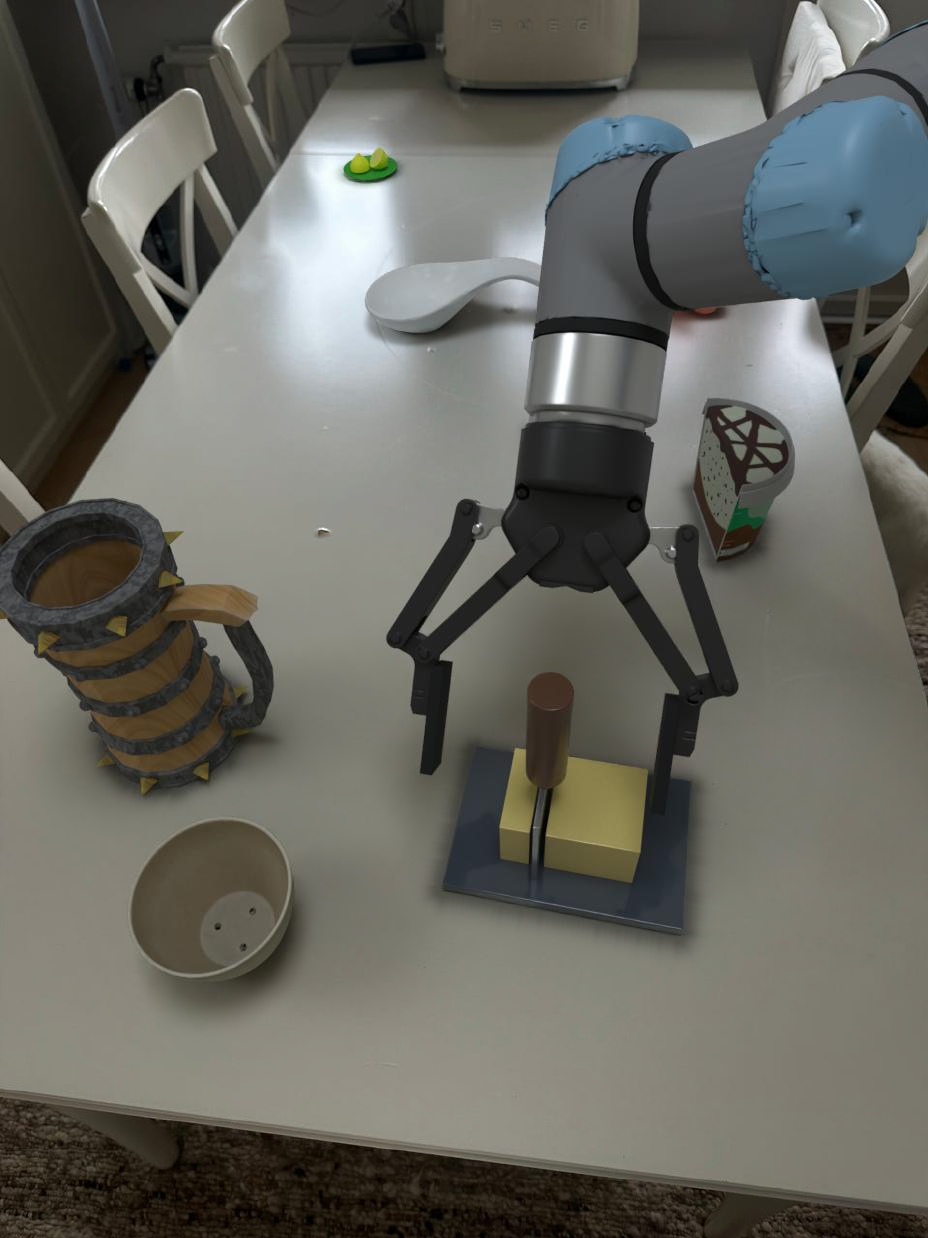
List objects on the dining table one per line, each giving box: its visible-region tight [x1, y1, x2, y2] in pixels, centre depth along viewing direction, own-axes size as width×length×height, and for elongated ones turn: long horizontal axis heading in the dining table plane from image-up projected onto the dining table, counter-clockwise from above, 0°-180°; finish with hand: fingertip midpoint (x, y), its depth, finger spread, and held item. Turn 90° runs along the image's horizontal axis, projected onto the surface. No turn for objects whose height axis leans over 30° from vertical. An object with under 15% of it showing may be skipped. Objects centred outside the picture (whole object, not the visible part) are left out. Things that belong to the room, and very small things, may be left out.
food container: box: [691, 397, 796, 563], centre depth 76 cm, size 12×6×10 cm, turn 4°
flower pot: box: [126, 815, 295, 983], centre depth 55 cm, size 10×10×7 cm
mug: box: [0, 497, 275, 796], centre depth 60 cm, size 13×17×20 cm
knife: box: [525, 671, 575, 880], centre depth 54 cm, size 3×8×17 cm, turn 168°
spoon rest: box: [364, 256, 542, 334], centre depth 100 cm, size 24×12×7 cm, turn 84°
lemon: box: [343, 147, 398, 181], centre depth 127 cm, size 8×8×3 cm
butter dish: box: [442, 745, 692, 936], centre depth 59 cm, size 16×11×6 cm
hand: (541, 788), depth 51 cm, fingers open, 13 cm apart
